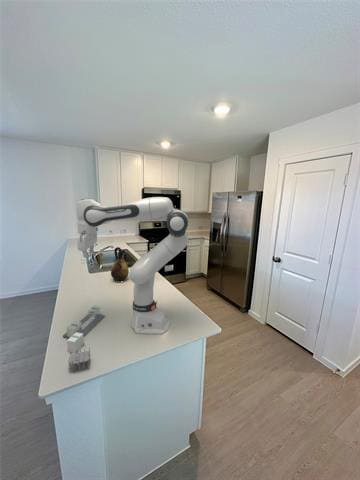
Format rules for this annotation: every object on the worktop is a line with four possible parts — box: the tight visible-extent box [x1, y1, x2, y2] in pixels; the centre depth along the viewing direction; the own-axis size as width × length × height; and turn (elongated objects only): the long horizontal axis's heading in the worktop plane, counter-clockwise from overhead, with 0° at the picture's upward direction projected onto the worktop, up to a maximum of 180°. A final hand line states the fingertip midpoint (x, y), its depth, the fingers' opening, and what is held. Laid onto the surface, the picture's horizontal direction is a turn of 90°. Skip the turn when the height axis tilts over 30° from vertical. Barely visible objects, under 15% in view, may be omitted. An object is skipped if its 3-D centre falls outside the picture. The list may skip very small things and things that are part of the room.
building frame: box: [68, 347, 91, 374], centre depth 84 cm, size 6×8×6 cm
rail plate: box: [62, 305, 106, 339], centre depth 111 cm, size 10×23×6 cm, turn 169°
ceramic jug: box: [110, 246, 130, 282], centre depth 176 cm, size 17×15×30 cm
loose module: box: [66, 332, 85, 354], centre depth 94 cm, size 4×6×6 cm, turn 169°
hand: (88, 254), depth 108 cm, fingers open, 8 cm apart
